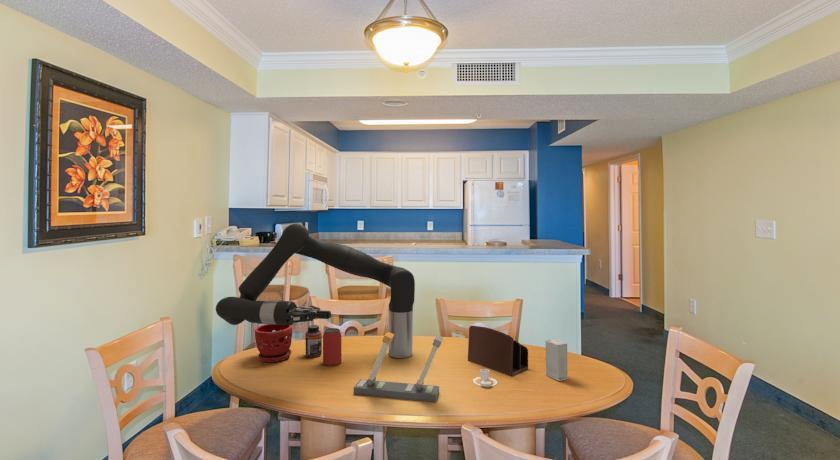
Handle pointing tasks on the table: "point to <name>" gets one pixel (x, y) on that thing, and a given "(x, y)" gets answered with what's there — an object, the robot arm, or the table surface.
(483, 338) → the letter holder
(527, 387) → the table surface
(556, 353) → the skincare box
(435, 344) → the grey switch
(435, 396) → the switch panel
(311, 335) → the supplement bottle
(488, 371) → the teacup and saucer
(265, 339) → the plant pot
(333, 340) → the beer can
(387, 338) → the orange switch
